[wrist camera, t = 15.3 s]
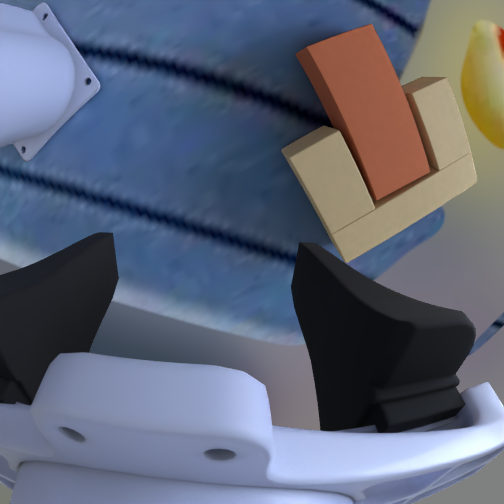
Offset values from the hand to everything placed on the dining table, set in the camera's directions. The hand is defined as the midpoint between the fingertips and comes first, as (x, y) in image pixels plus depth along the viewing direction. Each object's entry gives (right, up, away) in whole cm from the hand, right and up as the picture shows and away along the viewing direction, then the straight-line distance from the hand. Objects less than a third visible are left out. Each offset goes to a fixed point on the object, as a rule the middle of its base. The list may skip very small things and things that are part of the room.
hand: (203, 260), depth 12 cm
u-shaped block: (+11, +7, +8) cm, 15 cm away
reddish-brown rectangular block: (+9, +10, +6) cm, 14 cm away
